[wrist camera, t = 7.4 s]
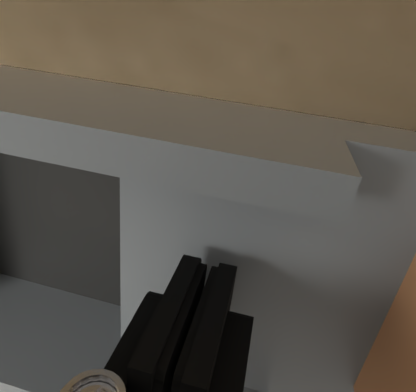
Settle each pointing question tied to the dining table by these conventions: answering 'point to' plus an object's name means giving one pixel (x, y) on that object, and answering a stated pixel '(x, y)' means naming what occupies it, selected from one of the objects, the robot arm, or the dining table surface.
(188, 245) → the gray cradle tray
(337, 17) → the dining table surface
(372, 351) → the block
